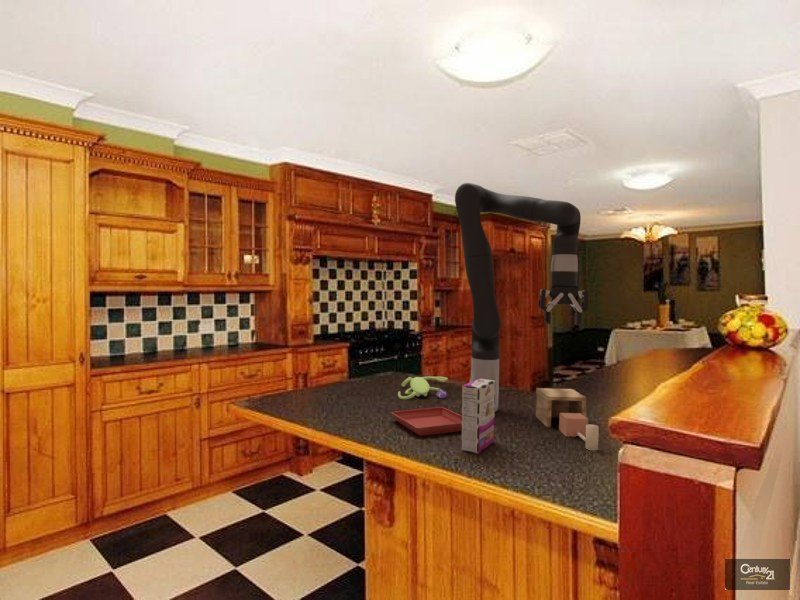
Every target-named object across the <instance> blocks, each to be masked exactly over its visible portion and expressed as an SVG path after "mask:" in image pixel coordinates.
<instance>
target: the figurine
mask: <svg viewBox="0 0 800 600" xmlns="http://www.w3.org/2000/svg"><path fill="white" fill-rule="evenodd" d="M427 380H434V381H435V380H436V381H438V382H440V383H445V382H447V381H448V377H445V376H422V377H420V376H416V377H411V376H408V377H407V378H406V379H404V381H402V383H401V387H405V386H406V385H407V384H408V383H409V386H410V387H408V388H407V389H406V390H405V392H404V393H405V396H402V395H401V394H402V393H401V391H399V390H398V392H397V398H399V399H400V400H409V399H412V398H413V397H415V396H416V397H420V396H422V397H423V396H424V397H427V396H428V393H429V391H437V393H436V394H435V395H436V396H437V397H438V398H439V399H445V398H446V396H447V395H448V394H447V391H445V390H444V389H442V388H439V387H433V386H432V387H431V386H430V384H429V382H428V381H427Z"/></svg>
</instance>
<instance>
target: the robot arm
mask: <svg viewBox="0 0 800 600" xmlns="http://www.w3.org/2000/svg"><path fill="white" fill-rule="evenodd" d="M454 202H455V203H454V204H455V209H456V212H457V216H458V220H459V225H460V226H459V227H460V233H461V240H462V247H463V248H462V249H463V258H464V266H465V273H466V278H467V282H468V287H469V290H470V292H471V298H472V307H473V308H472V309H473V311H472V313H473V316H472V321H471V347H470V348H471V350H470V351H471V357H470V358H471V361H470V362H471V365H470V378H469V383H470V382H472V381H475V380H477V379H488V380H494V381H495V412H497V411H498V410H499V388H500V387H499V386H500V385H499V384H500V383H499V381H500V356H501V355H500V352H501V351H500V330H501V328H502V321H501V320H502V319H501V318H500V313H499V309H498V305H497V301H496V294H495V286H496V285H495V270H494V269H495V268H494V258H493V252H492V248H491V244H490V242H489V240H488V237H487V235H486V233H485V230H484V228H483V225H482V224H483V223H482V218H481V213H496V214H500V215H501V214H502V215H506V216H510V217H512V218H513V217H514V218H516V219H521V220H526V221H530V222H535V223H541V222H543V223H548V224H552V225H556V235H555V236H554V238H553V242H552V256H551V263H550V264H551V265H550V288H549V290H548V289H544V288H543V289H540V290H539V295H538V303H537V304H538V306H537V307H538V309H539V310H542V311H543V314H544V316H543V319H544V320H543V321H544V323H545V324H546V325H551V323H552V322H551V320H552V319H551V318H552V317H551V316H552V312H551V311H552V309H553V308H554V307H555V306H557V305H570V306H571V307H572V308H573V309H574V311H575V312H574V322H573V323H574V325H575V326H579V325H580V324H581V323H582V314H583V312H586V311H589V291H588V290H578V273H579V272H578V271H579V269H578V268H579V264H578V263H579V262H578V238H579V234H580V229H581V211H580V209H579V208H578V207H577V206H576V205H574V204H572V203H570V202H567V201H563V200H562V201H561V200H552V199H551V200H549V199H548V200H547V199H542V198H537V197H532V196H527V195H524V196H523V195H511V194H505V193H498V192H496V191H493V190H490V189H488V188H484V186H481V185H479V184H475V183H471V182H464V183H461V184H460V185H459V186H458V187H457V189H456V191H455V193H454ZM548 296H550V297H551V299H550V300H549V301H548V303H547V304H546V298H547V297H548ZM577 297H579V298H580V303H581V304H579V302H578V300H577V299H576V298H577ZM545 304H546V306H545ZM580 305H581V306H580Z"/></svg>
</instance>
